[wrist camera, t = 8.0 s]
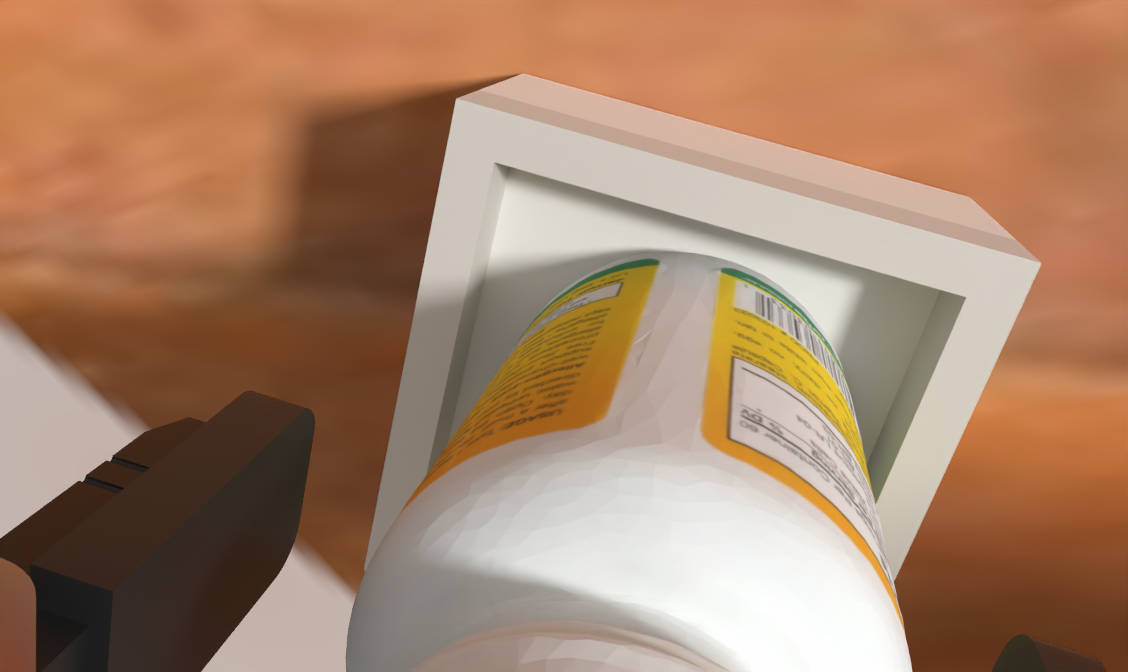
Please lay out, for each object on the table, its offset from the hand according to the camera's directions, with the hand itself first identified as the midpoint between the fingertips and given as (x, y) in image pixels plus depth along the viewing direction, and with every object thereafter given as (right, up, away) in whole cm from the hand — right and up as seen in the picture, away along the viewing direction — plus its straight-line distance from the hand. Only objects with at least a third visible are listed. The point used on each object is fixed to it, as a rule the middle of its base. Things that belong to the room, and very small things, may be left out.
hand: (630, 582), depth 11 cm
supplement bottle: (+1, +2, +5) cm, 5 cm away
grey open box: (+1, +3, +7) cm, 8 cm away
